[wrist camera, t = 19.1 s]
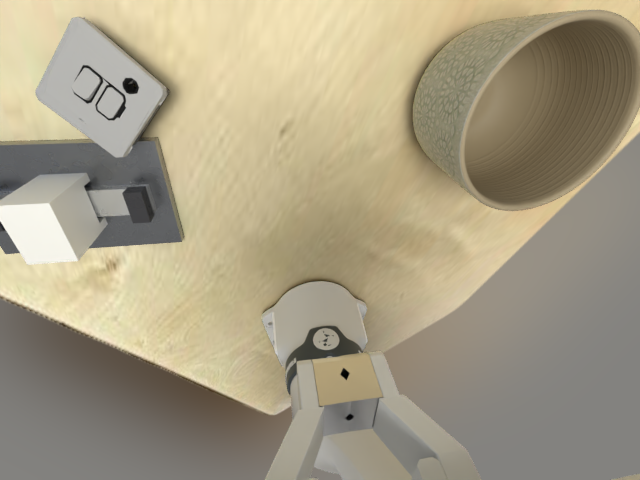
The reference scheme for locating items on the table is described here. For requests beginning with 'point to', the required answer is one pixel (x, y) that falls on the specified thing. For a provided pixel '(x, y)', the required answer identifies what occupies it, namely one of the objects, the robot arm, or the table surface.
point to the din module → (51, 218)
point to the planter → (529, 104)
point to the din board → (101, 186)
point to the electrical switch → (100, 88)
